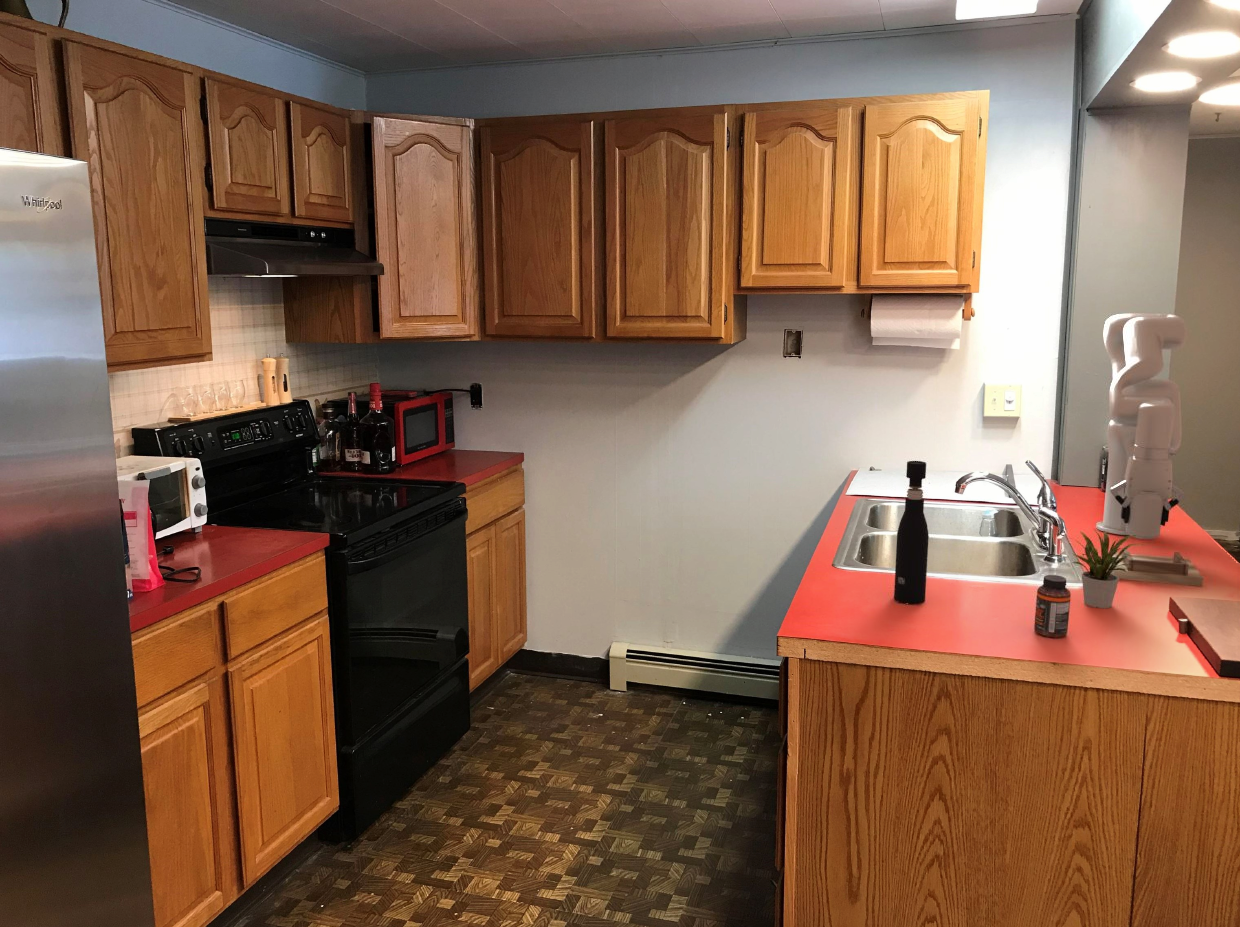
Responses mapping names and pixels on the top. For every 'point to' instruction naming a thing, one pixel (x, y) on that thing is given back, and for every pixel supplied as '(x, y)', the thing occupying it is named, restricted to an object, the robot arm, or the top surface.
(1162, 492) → the robot arm
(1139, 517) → the can
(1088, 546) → the house plant
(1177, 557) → the dock
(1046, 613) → the supplement bottle
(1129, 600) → the top surface
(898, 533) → the black insulated water bottle
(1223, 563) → the top surface
